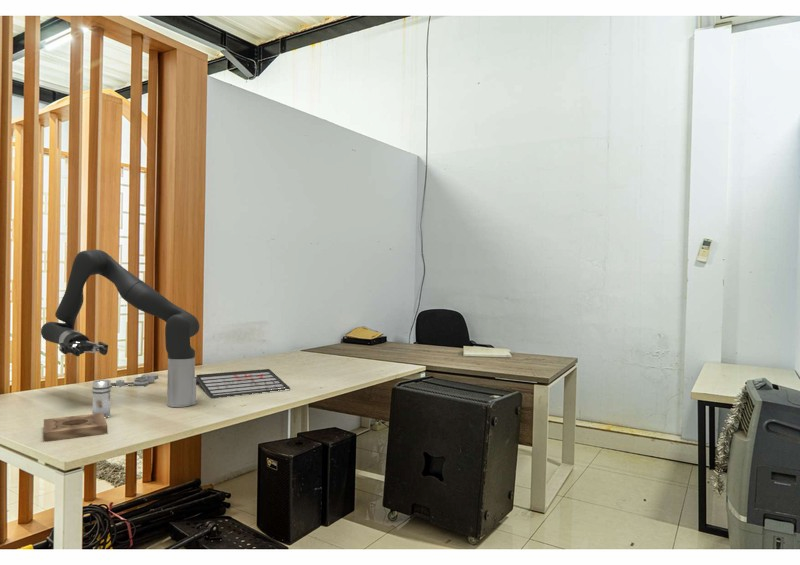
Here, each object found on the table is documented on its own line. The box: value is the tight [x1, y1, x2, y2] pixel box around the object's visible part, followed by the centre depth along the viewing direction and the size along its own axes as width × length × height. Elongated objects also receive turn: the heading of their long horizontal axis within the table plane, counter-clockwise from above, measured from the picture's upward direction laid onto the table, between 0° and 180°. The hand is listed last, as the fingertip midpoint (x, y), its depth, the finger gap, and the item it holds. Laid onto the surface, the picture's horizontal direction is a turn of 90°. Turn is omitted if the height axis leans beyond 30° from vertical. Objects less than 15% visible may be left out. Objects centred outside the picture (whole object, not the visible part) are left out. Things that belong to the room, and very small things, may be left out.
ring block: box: [43, 413, 108, 442], centre depth 165 cm, size 16×16×2 cm
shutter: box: [195, 368, 291, 399], centre depth 230 cm, size 32×7×31 cm
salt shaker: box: [91, 378, 112, 418], centre depth 180 cm, size 5×5×12 cm
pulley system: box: [111, 373, 159, 388], centre depth 231 cm, size 27×5×15 cm
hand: (92, 352), depth 186 cm, fingers open, 8 cm apart
